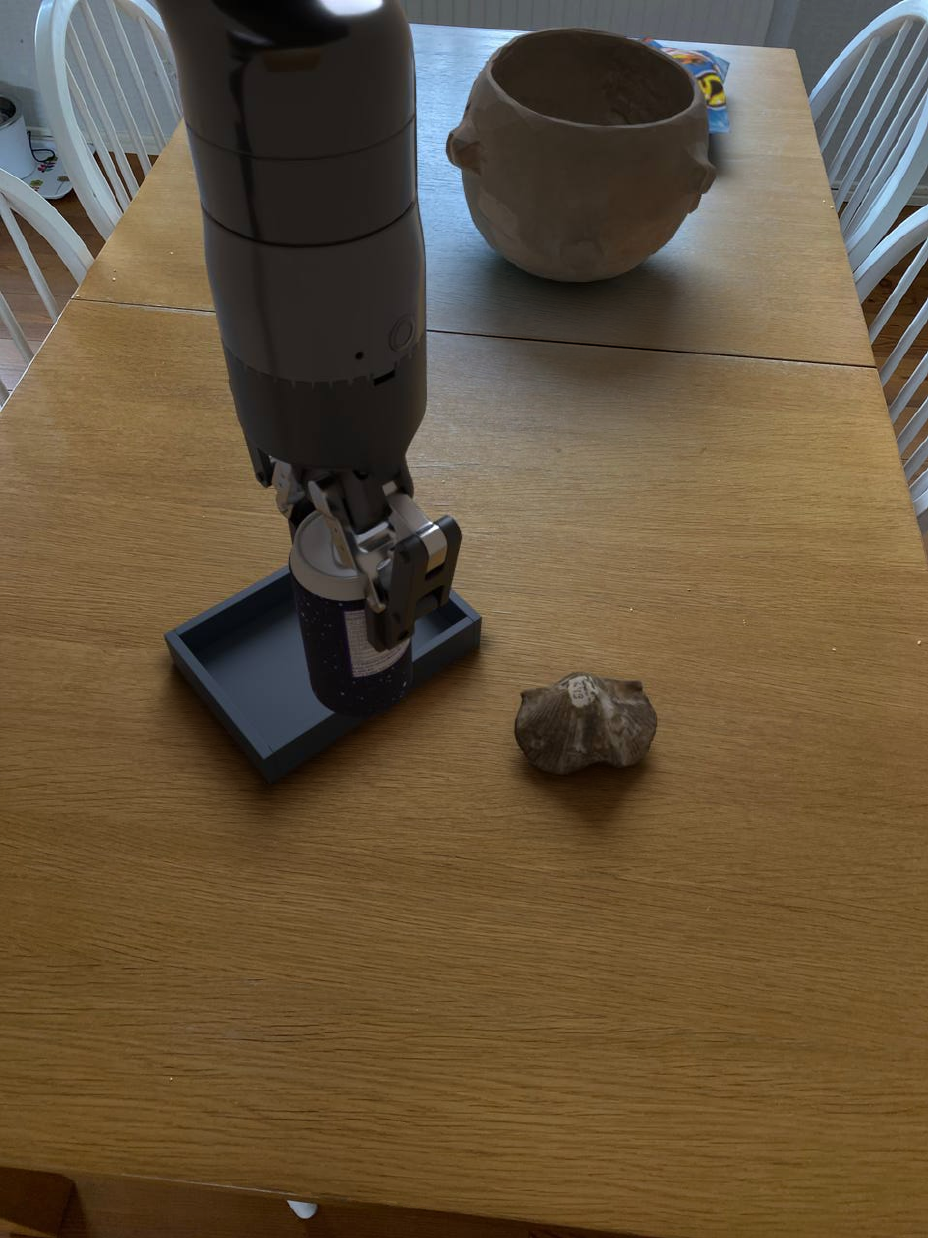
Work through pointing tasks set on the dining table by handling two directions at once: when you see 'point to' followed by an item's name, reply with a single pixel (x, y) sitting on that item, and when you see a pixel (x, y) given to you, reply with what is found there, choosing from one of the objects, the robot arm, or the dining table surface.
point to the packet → (705, 81)
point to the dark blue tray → (289, 669)
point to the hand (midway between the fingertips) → (353, 599)
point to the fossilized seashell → (585, 723)
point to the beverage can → (342, 627)
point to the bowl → (581, 152)
